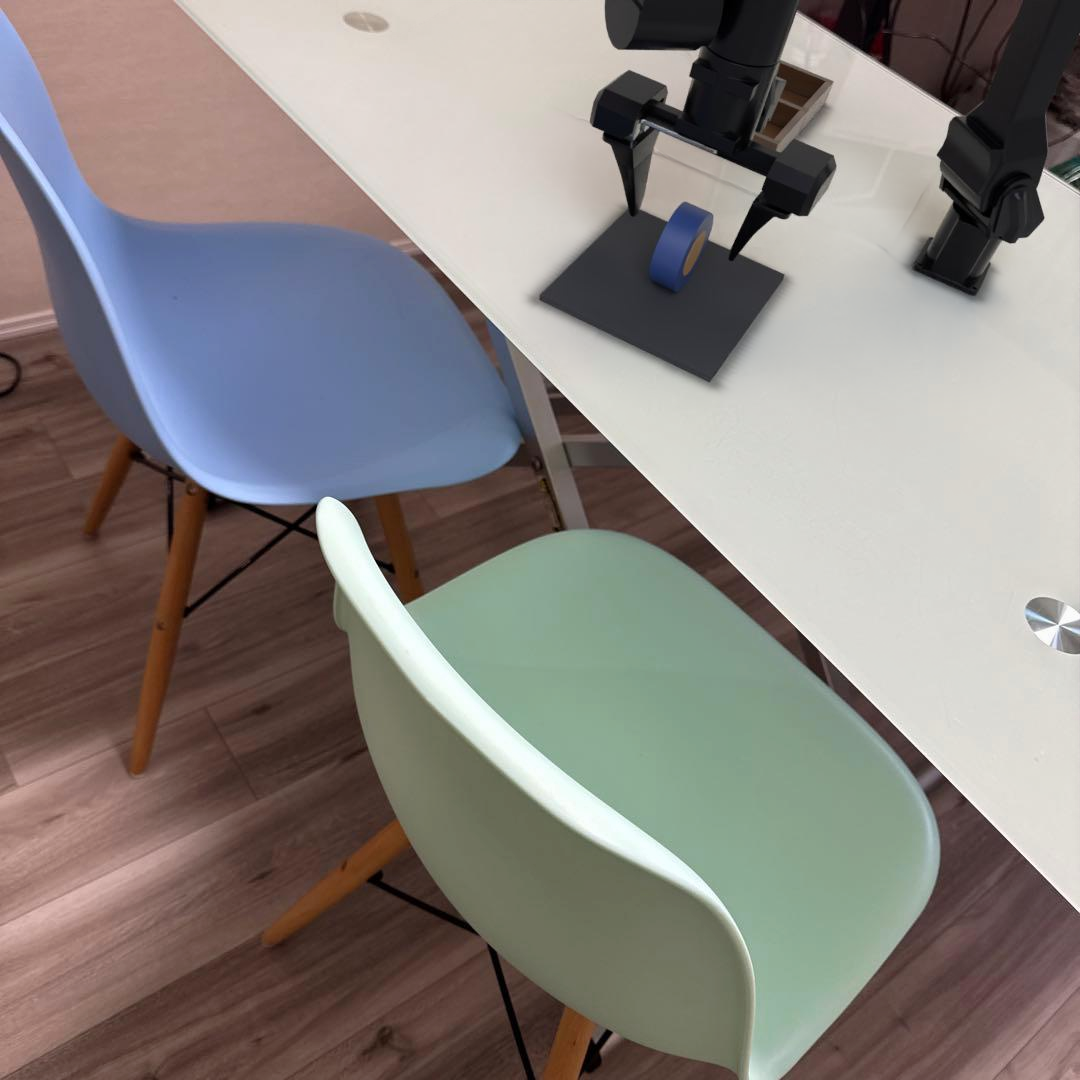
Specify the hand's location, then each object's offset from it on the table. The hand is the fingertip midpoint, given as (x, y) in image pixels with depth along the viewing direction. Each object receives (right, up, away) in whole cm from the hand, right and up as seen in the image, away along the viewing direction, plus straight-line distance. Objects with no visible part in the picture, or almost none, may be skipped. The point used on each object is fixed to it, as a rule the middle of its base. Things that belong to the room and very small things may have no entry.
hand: (682, 236), depth 82 cm
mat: (-1, -3, +4) cm, 5 cm away
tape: (-1, -3, +4) cm, 5 cm away
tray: (+12, +21, +27) cm, 37 cm away
